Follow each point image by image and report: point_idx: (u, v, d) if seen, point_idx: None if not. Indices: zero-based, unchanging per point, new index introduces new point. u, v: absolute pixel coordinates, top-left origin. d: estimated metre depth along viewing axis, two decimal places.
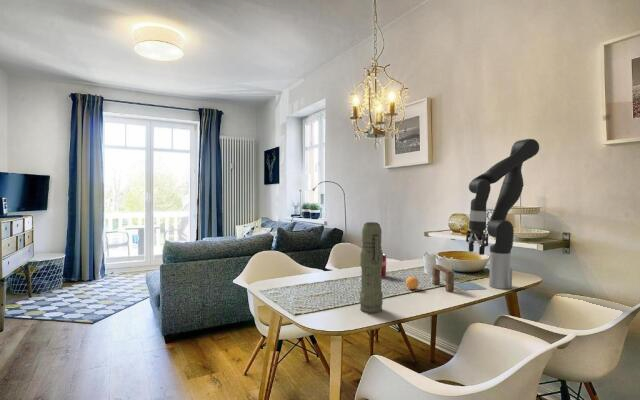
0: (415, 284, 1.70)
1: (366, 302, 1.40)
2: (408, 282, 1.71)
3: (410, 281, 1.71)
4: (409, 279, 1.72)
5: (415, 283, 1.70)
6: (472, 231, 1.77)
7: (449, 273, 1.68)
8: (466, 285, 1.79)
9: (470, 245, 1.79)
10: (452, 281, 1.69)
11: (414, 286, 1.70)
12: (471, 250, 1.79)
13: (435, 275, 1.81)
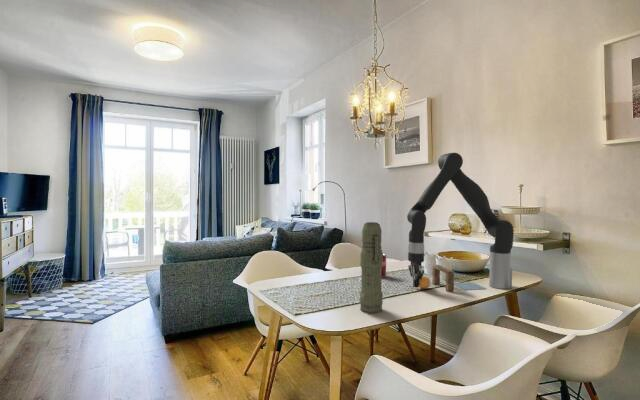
0: (426, 284, 1.71)
1: (366, 302, 1.40)
2: (426, 278, 1.73)
3: (428, 279, 1.73)
4: (428, 279, 1.74)
5: (427, 284, 1.72)
6: (411, 261, 1.76)
7: (449, 273, 1.68)
8: (466, 285, 1.79)
9: None
10: (452, 281, 1.69)
11: (424, 283, 1.71)
12: None
13: (435, 275, 1.81)
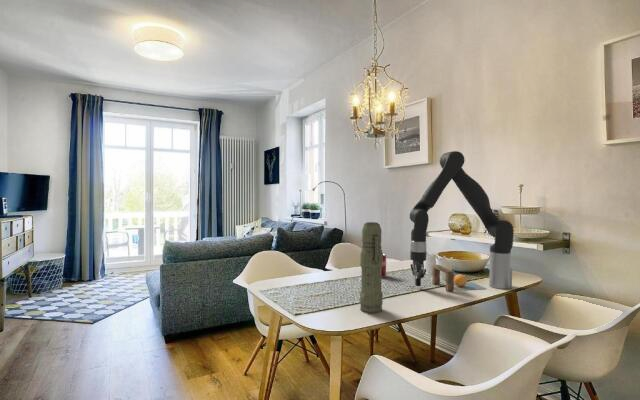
0: (463, 282, 1.75)
1: (366, 302, 1.40)
2: (464, 276, 1.77)
3: (465, 278, 1.76)
4: (465, 278, 1.77)
5: (463, 283, 1.75)
6: None
7: (449, 273, 1.68)
8: (466, 285, 1.79)
9: None
10: (452, 281, 1.69)
11: (461, 281, 1.75)
12: None
13: (435, 275, 1.81)
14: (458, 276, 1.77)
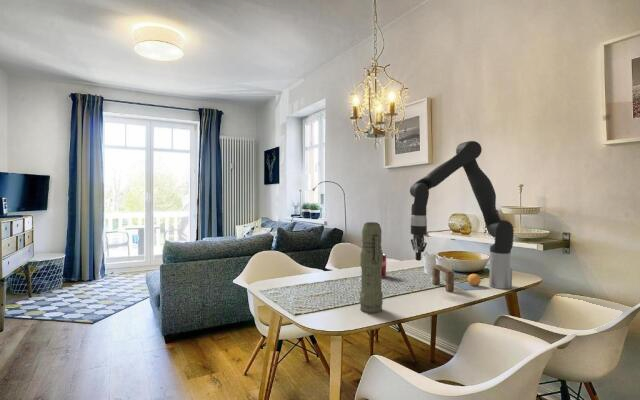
0: (477, 280, 1.76)
1: (366, 302, 1.40)
2: (475, 285, 1.78)
3: (474, 285, 1.77)
4: (472, 285, 1.78)
5: (476, 281, 1.76)
6: (413, 235, 1.76)
7: (449, 273, 1.68)
8: (466, 285, 1.79)
9: None
10: (452, 281, 1.69)
11: (479, 281, 1.77)
12: None
13: (435, 275, 1.81)
14: None
